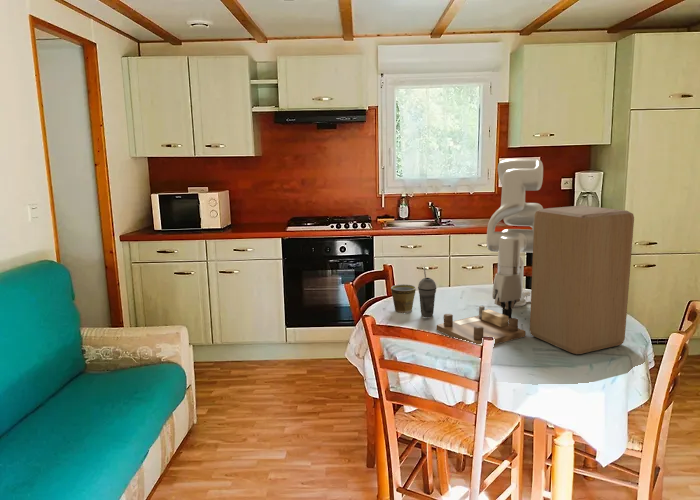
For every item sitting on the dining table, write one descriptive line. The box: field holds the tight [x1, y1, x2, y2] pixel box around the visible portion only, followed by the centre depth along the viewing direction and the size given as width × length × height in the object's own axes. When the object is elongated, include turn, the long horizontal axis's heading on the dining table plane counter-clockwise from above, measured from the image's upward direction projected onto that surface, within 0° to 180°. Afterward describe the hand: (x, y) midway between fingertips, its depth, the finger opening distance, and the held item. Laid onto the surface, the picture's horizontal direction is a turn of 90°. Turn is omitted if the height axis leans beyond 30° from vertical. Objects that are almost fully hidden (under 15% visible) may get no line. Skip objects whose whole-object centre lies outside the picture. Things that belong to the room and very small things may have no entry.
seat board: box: [435, 305, 527, 345], centre depth 194 cm, size 22×22×6 cm
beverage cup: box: [417, 266, 438, 319], centre depth 213 cm, size 7×7×20 cm
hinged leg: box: [482, 308, 509, 327], centre depth 199 cm, size 10×3×3 cm, turn 29°
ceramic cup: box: [390, 284, 417, 314], centre depth 223 cm, size 13×10×10 cm
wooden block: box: [529, 204, 635, 355], centre depth 181 cm, size 22×22×45 cm
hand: (506, 318), depth 200 cm, fingers closed
